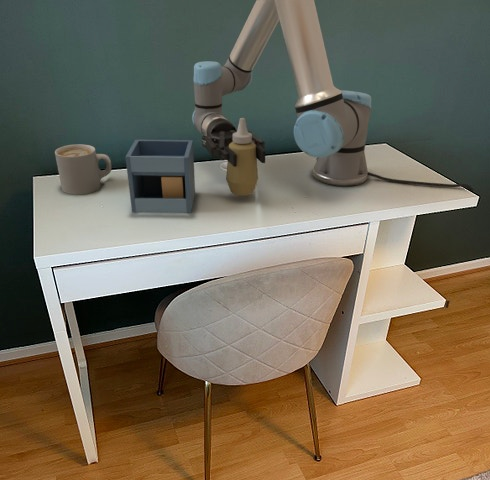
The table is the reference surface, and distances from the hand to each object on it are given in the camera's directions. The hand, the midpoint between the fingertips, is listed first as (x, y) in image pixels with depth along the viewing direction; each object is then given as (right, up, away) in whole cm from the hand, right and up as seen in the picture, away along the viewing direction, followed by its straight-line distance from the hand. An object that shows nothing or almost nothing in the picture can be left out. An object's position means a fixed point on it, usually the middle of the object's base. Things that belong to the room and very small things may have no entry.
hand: (249, 159), depth 117 cm
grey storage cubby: (-21, -10, +8) cm, 24 cm away
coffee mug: (-43, -3, +17) cm, 46 cm away
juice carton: (-18, -9, +7) cm, 22 cm away
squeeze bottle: (-2, -6, +10) cm, 11 cm away
